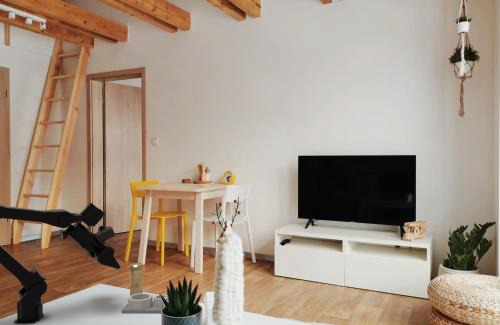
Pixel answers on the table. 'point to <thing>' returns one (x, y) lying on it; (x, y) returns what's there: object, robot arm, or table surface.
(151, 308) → the manifold plate
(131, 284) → the gold metal cylinder
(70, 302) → the table surface
